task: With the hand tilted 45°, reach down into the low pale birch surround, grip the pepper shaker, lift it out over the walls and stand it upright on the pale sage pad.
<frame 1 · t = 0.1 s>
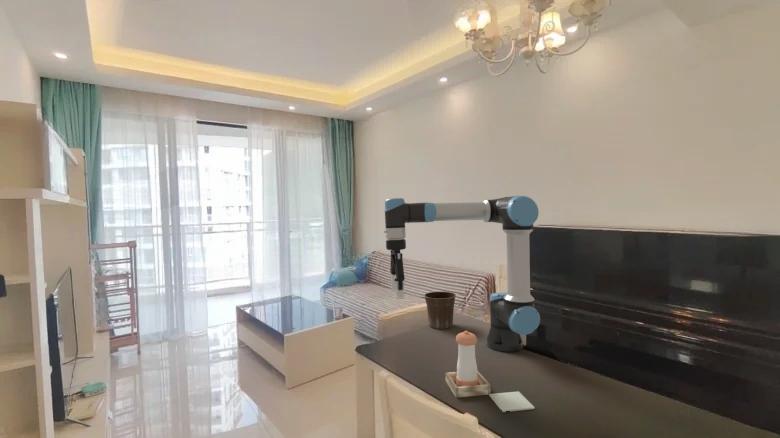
hand: (397, 294, 142), 28 cm above the table, tool pointing down, fingers open, 13 cm apart
plant pot: (440, 326, 193), on the table
sage pad: (511, 402, 116), on the table
pepper shaker: (467, 388, 126), resting in birch surround
birch surround: (467, 387, 126), on the table
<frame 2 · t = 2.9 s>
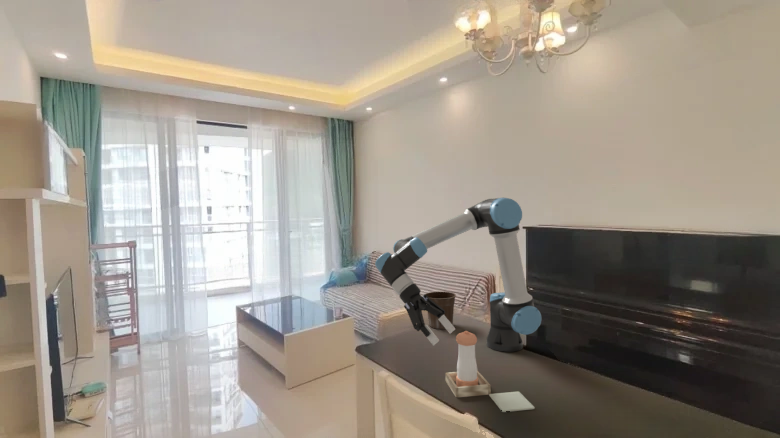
hand: (445, 337, 129), 16 cm above the table, tool tilted 45°, fingers open, 13 cm apart
nothing on the table moved.
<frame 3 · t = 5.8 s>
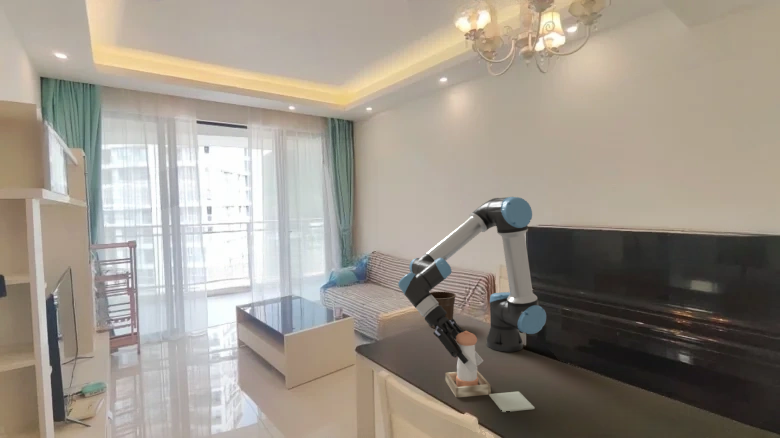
hand: (477, 366, 124), 8 cm above the table, tool tilted 45°, fingers closed on pepper shaker, 5 cm apart
pepper shaker: (467, 388, 126), resting in birch surround, touching gripper
everything else where it was.
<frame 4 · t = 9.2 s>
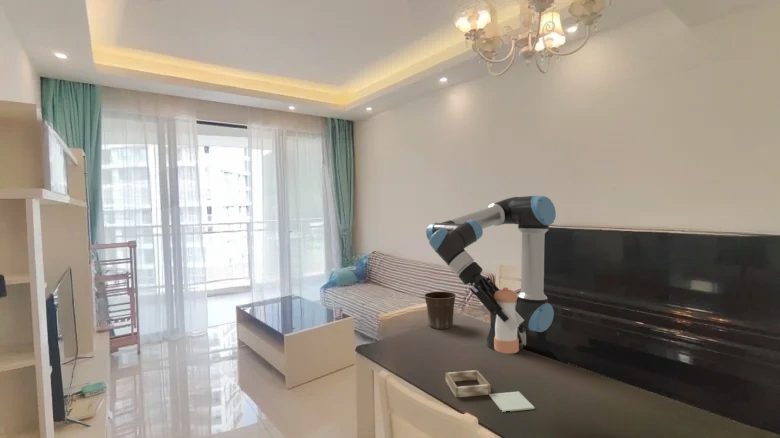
hand: (518, 325, 114), 24 cm above the table, tool tilted 45°, fingers closed on pepper shaker, 5 cm apart
pepper shaker: (506, 349, 116), point 16 cm above the table, touching gripper
everything else where it was.
when the fingers open (9 cm above the table, at t = 12.5 s): pepper shaker stays where it is, resting on sage pad.
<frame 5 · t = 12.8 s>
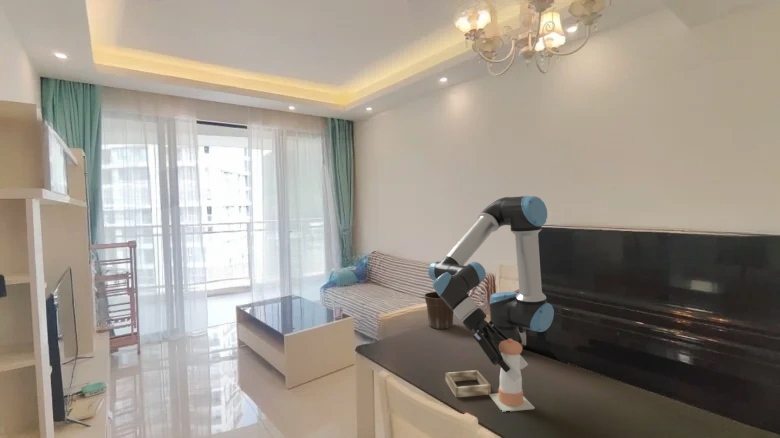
hand: (521, 372, 114), 10 cm above the table, tool tilted 45°, fingers open, 9 cm apart
pepper shaker: (510, 400, 116), resting on sage pad
everything else where it was.
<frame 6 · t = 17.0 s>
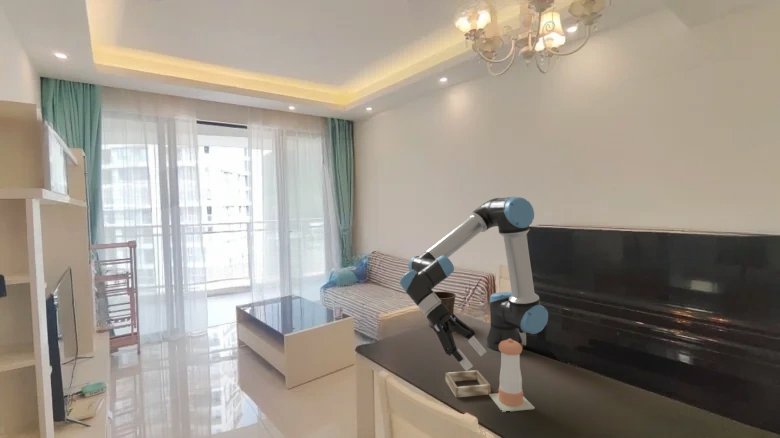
hand: (477, 361, 121), 11 cm above the table, tool tilted 45°, fingers open, 13 cm apart
nothing on the table moved.
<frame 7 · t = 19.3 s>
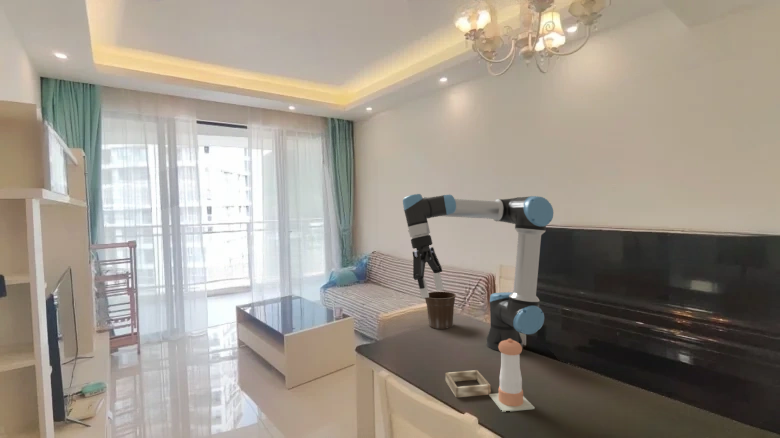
hand: (433, 293, 136), 30 cm above the table, tool pointing down, fingers open, 13 cm apart
nothing on the table moved.
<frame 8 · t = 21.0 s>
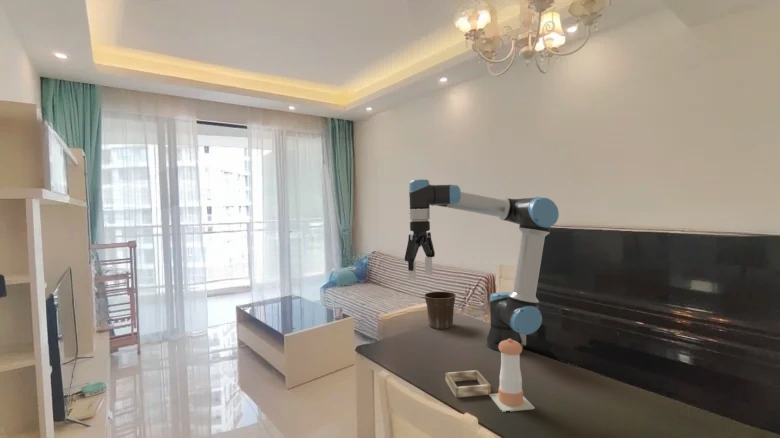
hand: (420, 276, 142), 35 cm above the table, tool pointing down, fingers open, 13 cm apart
nothing on the table moved.
at the end: pepper shaker inside the target area on the sage pad (0.1 cm from its centre), point 0.3 cm above the sage pad's base; pepper shaker tilted 0°; the gripper is holding nothing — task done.
